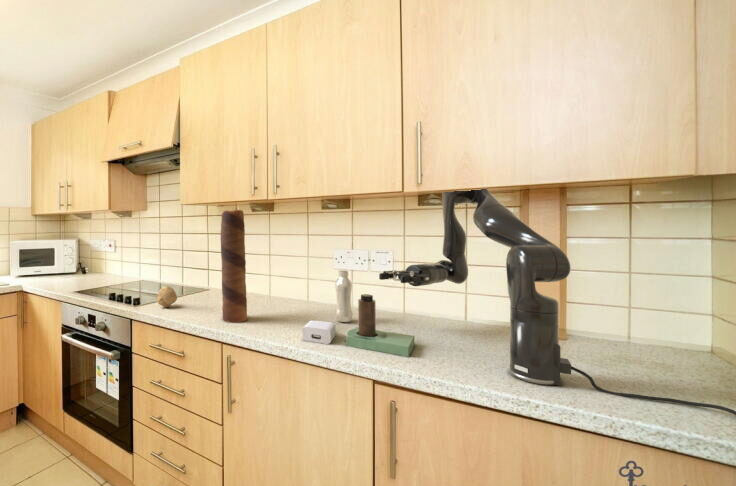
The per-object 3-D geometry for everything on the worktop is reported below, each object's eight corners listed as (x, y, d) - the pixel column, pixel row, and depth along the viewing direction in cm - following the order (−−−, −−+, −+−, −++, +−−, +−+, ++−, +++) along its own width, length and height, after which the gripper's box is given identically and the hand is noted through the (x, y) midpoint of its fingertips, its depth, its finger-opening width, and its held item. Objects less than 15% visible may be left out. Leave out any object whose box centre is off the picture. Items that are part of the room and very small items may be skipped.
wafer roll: (223, 324, 142) (221, 209, 141) (220, 317, 152) (218, 210, 151) (249, 322, 143) (248, 209, 142) (244, 315, 154) (243, 210, 153)
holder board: (414, 345, 115) (414, 335, 115) (408, 357, 105) (408, 346, 105) (353, 334, 126) (353, 326, 126) (342, 344, 116) (342, 335, 116)
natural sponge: (180, 305, 174) (180, 285, 173) (171, 310, 165) (170, 288, 165) (164, 304, 177) (164, 284, 177) (154, 308, 169) (153, 287, 169)
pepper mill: (377, 342, 118) (377, 294, 118) (373, 346, 114) (373, 297, 114) (361, 339, 121) (360, 293, 121) (356, 343, 117) (356, 295, 117)
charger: (339, 331, 130) (330, 344, 117) (313, 328, 134) (302, 340, 121) (338, 318, 130) (330, 329, 117) (313, 315, 134) (302, 326, 121)
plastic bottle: (340, 324, 139) (340, 272, 139) (332, 319, 146) (331, 270, 145) (356, 323, 140) (355, 271, 140) (346, 318, 147) (346, 269, 146)
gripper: (404, 262, 135) (373, 265, 128) (441, 266, 123) (409, 269, 116) (404, 282, 135) (373, 286, 128) (441, 288, 123) (409, 292, 116)
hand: (390, 278), depth 122 cm, fingers open, 8 cm apart
